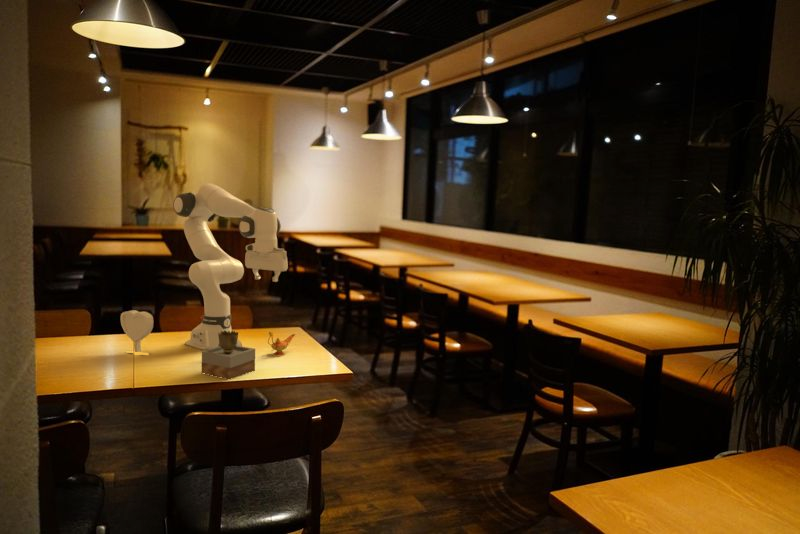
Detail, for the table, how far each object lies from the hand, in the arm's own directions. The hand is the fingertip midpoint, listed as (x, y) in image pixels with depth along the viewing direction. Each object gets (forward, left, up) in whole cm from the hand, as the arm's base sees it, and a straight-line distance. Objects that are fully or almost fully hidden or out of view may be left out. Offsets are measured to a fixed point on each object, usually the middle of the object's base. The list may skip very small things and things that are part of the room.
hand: (266, 280), depth 247 cm
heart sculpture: (-50, -24, -33) cm, 65 cm away
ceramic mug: (-15, -7, -33) cm, 37 cm away
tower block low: (+1, -23, -34) cm, 41 cm away
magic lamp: (0, +10, -33) cm, 35 cm away
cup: (+1, -23, -26) cm, 34 cm away
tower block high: (+1, -23, -29) cm, 37 cm away
